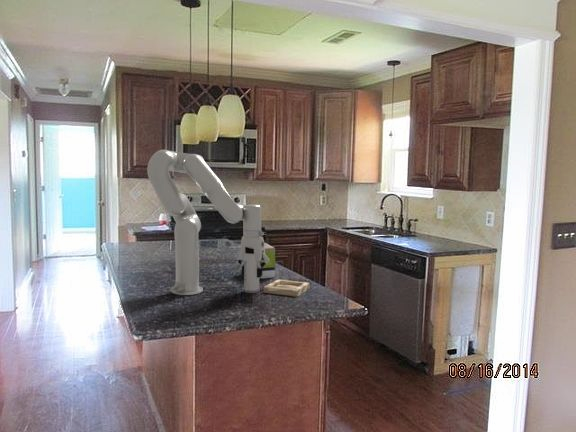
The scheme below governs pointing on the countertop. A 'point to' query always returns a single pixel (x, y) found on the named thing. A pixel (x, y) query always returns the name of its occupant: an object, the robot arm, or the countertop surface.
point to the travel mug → (250, 272)
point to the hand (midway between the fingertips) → (252, 275)
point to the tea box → (269, 262)
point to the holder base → (287, 287)
